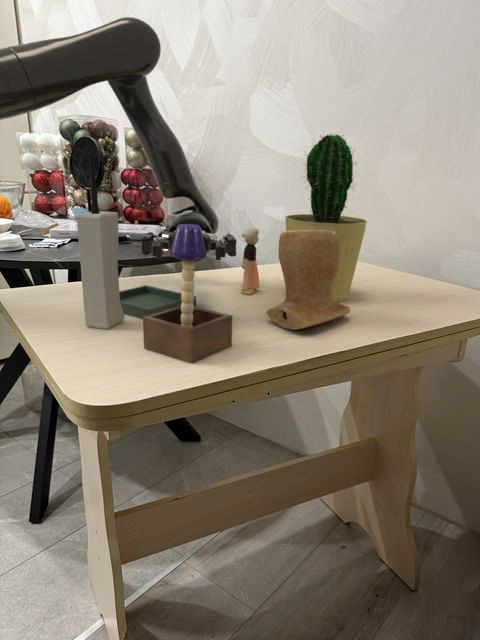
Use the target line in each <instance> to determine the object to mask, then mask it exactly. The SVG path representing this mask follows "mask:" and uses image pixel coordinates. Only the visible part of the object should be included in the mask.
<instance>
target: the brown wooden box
mask: <svg viewBox="0 0 480 640" xmlns="http://www.w3.org/2000/svg"><path fill="white" fill-rule="evenodd" d="M181 314H182V311H181V306H179V307H175V308H172V309H169V310H165V311H162V312H159V313H155V314H152V315H149V316H145V317H143V318H142V332H143V349H145V350H147V351H151V352H154V353H157V354H161V355H164V356H167V357H170V358H173V359H177V360H179V361H183V362H186V363H189V364H193V363H196V362H198V361H200V360H202V359H205V358H208V357H209V356H211V355H214V354H217V353H218V352H220V351H222V350H226V349H227V348H229V347H232V346H233V315H232V314H229V313H224V312H220V311H216V310H211V309H207V308H203V307H199V306H194V310H193V312H192V314H193V322H192V326H193V327H187V326H183V325H181V324H182V323H181Z"/></svg>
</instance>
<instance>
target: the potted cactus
mask: <svg viewBox="0 0 480 640" xmlns="http://www.w3.org/2000/svg"><path fill="white" fill-rule="evenodd" d="M318 140H319V139H318ZM310 142H311V146H312V147H311V149H310V150H309V152H308V153H307V152H306V151H303V152H304V156H306V158H307V159H306V163H304V164H302V165H303V166H306V167H304V170H305V171H306V172H305V171H303V172H302V173H303V174H305V173H306V178H305V176H302V179H303V178H304V179H303V180H305V181H304V183H305V182H307V183H308V185H309V186H306V189H307V190H306V191H307V192H309V189H308V188H309V187H310V193H308V194H307V196H308V195H309V202H310V208H311V211H309V213H299V214H288V215H285V216H284V219H285V231H293V230H327V231H334V232H335V233H336V234H337V237H338V241H339V262H338V268H337V272H336V275H335V278H334V281H333V285H332V290H331V296H332V299H333V301H335V302H337V303H339V302H343V301H346V300H347V299H348V298H349V295H350V292H351V289H352V284H353V281H354V280H353V279H354V276H355V271H356V269H357V265H358V260H359V256H360V252H361V249H362V244H363V239H364V237H365V232H366V227H367V223H368V221H367V219H363V218H360V217H355V216H354V217H353V216H346V215H344V213H343V212H344V208H346V209H348V210H349V207H348V206H347V205H346V204H348V201H347V200H348V195H350V194H348V191H349V190H350V189H353V191H354V192H356V190H355V189H354V188H356V186H355V185H354V184H353V183H354V177H353V176H354V172H353V170H354V167H355V166H356V164H359V162H357V161H353V156H354V154H355V152H353V151H356V148H354V149H353V147H350V145H348V144H347V140H346V138H344V134H342V136H341V135H340V134H333V133H332V132H330V134H327V135H325V134H323V136H322V135H320V140H319V141H315V140H314V142H316V144H314V143H313V141H312V140H310ZM351 150H352V151H351ZM356 172H358V171H355V173H356Z"/></svg>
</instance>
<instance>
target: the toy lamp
mask: <svg viewBox="0 0 480 640" xmlns="http://www.w3.org/2000/svg"><path fill="white" fill-rule="evenodd" d="M170 254H171V258H174V259H178V260H180V259H182V260H181V267H182V269H181V278H182V281H181V290H182V291H181V293H182V294H181V299H182V304H181V311H182V314H181V323H182V324H181V325H183V326H187V327H193V326H192V322H193V314H192V312H193V310H194V305H193V300H194V296H195V292H194V289H195V281H194V279H195V276H196V274H195V273H196V271H195V265H196V262H195V260H199V259H202V260H203V259H206V258H207V257H206V249H205V244H204V240H203V235H202V231H201V228H200V226H198V225H194V224H180V225H178V226H177V229H176V232H175V236H174V240H173V244H172V247H171V252H170Z"/></svg>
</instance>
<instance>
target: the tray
mask: <svg viewBox="0 0 480 640" xmlns="http://www.w3.org/2000/svg"><path fill="white" fill-rule="evenodd" d="M119 294H120V304H121V307H122V310H123V313H124V315H128V316H130V317H135V318H139V319H143V317H145V316H149V315H152V314H155V313H159V312H162V311H165V310H169V309H172V308H175V307H179V306H181V304H182V299H181V294H182V292H178V291H174V290H170V289H165V288H161V287H155V286H153V285H147V284H144V285H140V286H136V287H131V288H128V289H124V290H119ZM193 305H194V306H195V307H197V295H194V300H193Z"/></svg>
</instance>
